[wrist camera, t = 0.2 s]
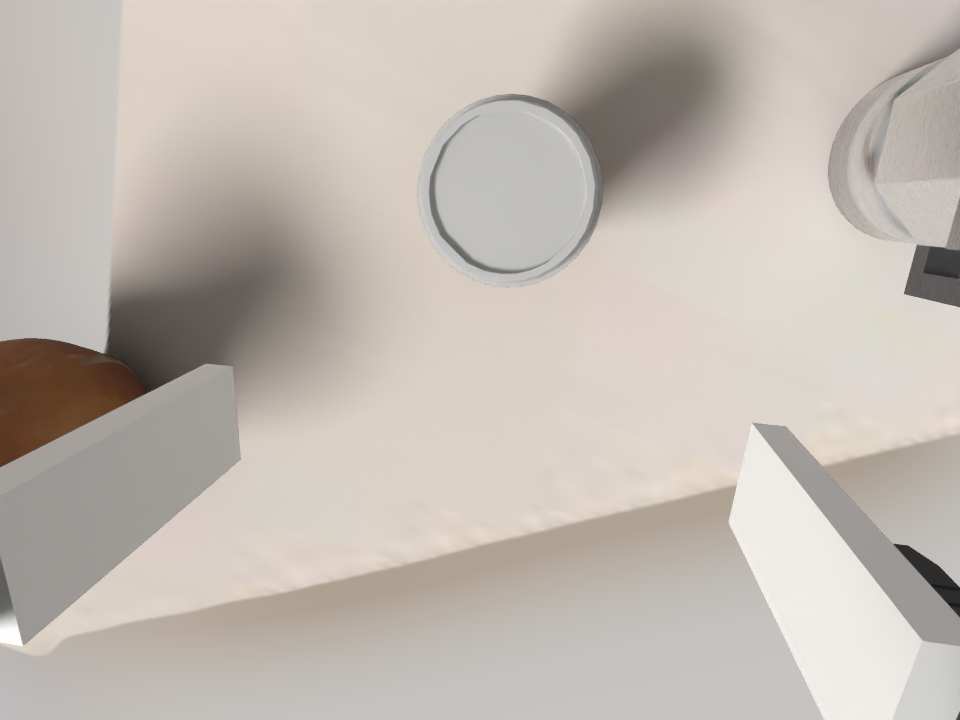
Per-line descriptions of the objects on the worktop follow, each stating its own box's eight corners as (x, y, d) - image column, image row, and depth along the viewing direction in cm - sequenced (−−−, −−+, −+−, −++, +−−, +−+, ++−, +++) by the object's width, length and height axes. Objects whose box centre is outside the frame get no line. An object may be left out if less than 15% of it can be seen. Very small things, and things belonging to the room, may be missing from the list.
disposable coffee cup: (612, 161, 37) (641, 139, 26) (550, 289, 40) (551, 321, 29) (485, 101, 37) (456, 54, 26) (431, 233, 40) (384, 243, 29)
